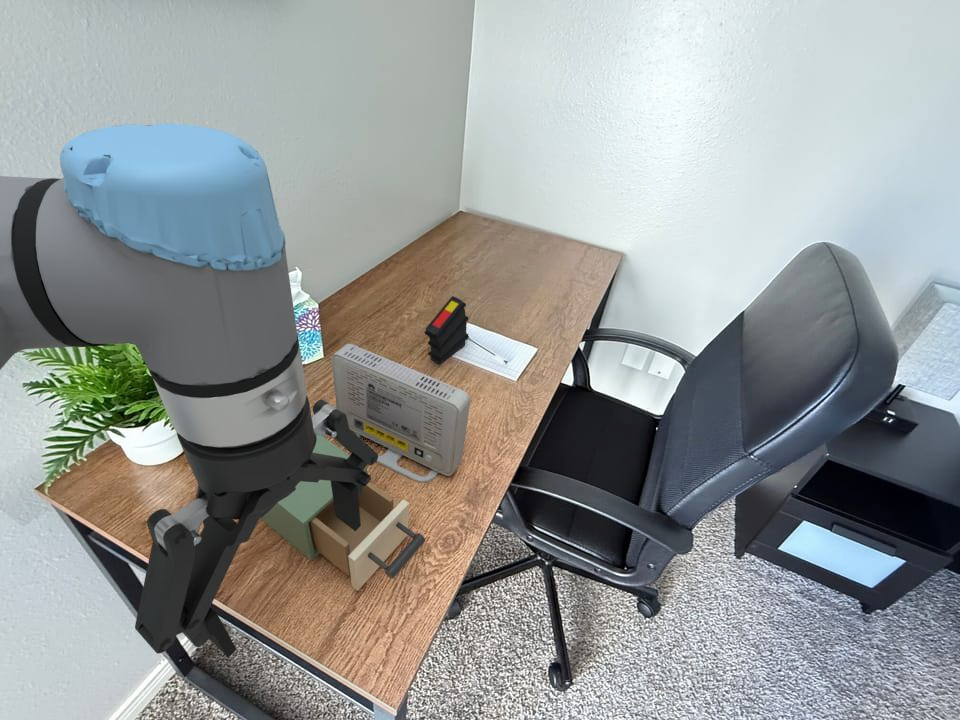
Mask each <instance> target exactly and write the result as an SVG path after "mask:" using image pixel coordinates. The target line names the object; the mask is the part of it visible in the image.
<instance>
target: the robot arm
mask: <svg viewBox="0 0 960 720" xmlns="http://www.w3.org/2000/svg"><path fill="white" fill-rule="evenodd" d="M59 165H60V169H61V173H62V176H63V177H62V178H57V177H53V178H52V177H51V178H50V177H49V178H48V177H47V178H45V177H27V176H25V177H24V176H6V175H4V176H3V175H0V371H1V370H2V369H3V368H4V367H5V365H7V364H8V362H9V361H10V360H11V358H12V357H13V356H15V354H17V353H19V352H22V351H24V350H37V349H39V350H40V349H57V348H58V349H59V348H91V347H92V348H94V347H103V346H105V345H120V344H130V345H134V346H135V347H136V349H137V350H138V352H139V354H140V356H141V358H142V359H143V361H144V363H145V365H146V367H147V369H148V372H149V375H150V376H151V379H152V380H153V382H154V385H155V387H156V390H157V393H158V394H159V397H160V401H161V402H162V405H163V407H164V410H165V412H166V414H167V417H168V420H169V422H170V424H171V426H172V427H173V429H174V431H175V432H176V436H177V439H178V442H179V444H180V447H181V448H182V451H183V453H184V455H185V458H186V460H187V462H188V465H189V467H190V469H191V471H192V474H193V476H194V478H195V480H196V482H197V490H196V493H195V499H194V500H193V501H191V502H190V503H187V504H186V505H185V506H183V507H181V508H180V509H178V510H176V511H175V512H174V513H171V512H170V511H169V510H168V509H166V508H160V509H157V510H156V511H154V512H153V513H151V514H150V516H149V517H148V518H147V520H146V525H147V528H148V531H149V534H150V538H151V541H152V544H151V548H150V553H149V558H148V563H147V568H146V570H145V571H146V572H145V577H144V581H143V586H142V587H143V588H142V591H141V596H140V601H139V604H138V605H139V606H138V610H137V614H136V620H135V624H134V629H135V631H136V632H137V633H138V634H139V636H141V637H142V639H144V641H145V642H146V643H147V644H148V645H149V647H150V648H151V649H152V650H153V651H154V652H155V653H156V654H159V655H160V654H162V653H164V652H165V651H167V650H168V649H169V648H171V647H172V646H173V644H174V643H175V641H176V638H177V636H179V635H181V634H183V635H184V636H185V637H186V638H187V639H188V641H189V642H190V643H191V644H192V646H194V647H195V648H201V647H202V646H203V645H204V644H206V642H208V641H209V640H210V641H211V642H212V643H213V645H215V646H216V647H217V648H218V649H219V651H220V652H221V653H223V655H225V657H227V658H231V656H232V655H233V654H235V652H236V651H237V650H238V649H237V647H236V646H235V644H234V642H233V640H232V638H231V636H230V635H229V632H228V631H227V629H226V627H225V626H224V624H223V621H222V620H221V618H220V616H219V614H218V613H217V612H216V611H215V610H214V609H213V608H212V607H211V606H212V604H213V602H214V600H215V598H216V596H217V594H218V591H219V589H220V587H221V586H222V583H223V581H224V579H225V577H226V575H227V573H228V571H229V569H230V566H231V564H232V562H233V560H234V558H235V556H236V554H237V551H238V549H239V548H240V545H241V544H243V543H247V542H248V541H249V540H250V538H251V537H252V534H253V532H254V531H255V528H256V526H257V524H258V522H259V520H260V518H262V517H263V516H264V515H265V514H266V513H268V512H269V511H270V510H271V509H272V508H273V507H274V506H275V505H276V504H277V503H278V502H279V501H281V500H282V499H284V498H286V497H287V496H289V495H290V494H291V493H292V492H294V491H295V490H296V486H297V484H298V483H300V481H303V482H318V481H319V480H329V481H331V487H332V494H333V501H334V508H335V515H336V517H337V518H338V519H340V520H341V521H342V522H344V523H345V524H346V525H348V526H349V527H350V528H351V529H353V530H354V531H356V530H357V529H358V528H359V527H360V526H361V522H360V511H359V499H358V498H359V497H360V496H361V495H362V487H365V486H366V485H367V484H368V483H369V482H370V483H371V479H372V476H371V475H370V474H369V473H368V472H367V473H368V474H367V473H366V472H364V471H363V470H364V469H365V467H366V466H367V467H368V466H369V467H372V466H373V465H375V464H376V463H377V462H376V461H377V459H378V456H379V454H378V453H377V452H376V451H375V450H374V449H372V448H371V447H370V446H369V445H368V444H367V443H366V442H364V440H363V439H361V437H360V438H359V437H358V436H357V435H356V434H355V432H354V431H352V430H350V429H349V425H348V421H347V417H346V414H345V413H343V412H342V411H340V410H338V409H337V407H335V406H333V405H332V404H331V403H329V402H328V401H326V400H324V399H323V398H322V399H318V400H317V401H316V402H315V403H314V404H313V406H312V410H311V405H310V400H309V397H308V389H307V384H306V377H305V372H304V365H303V360H302V353H301V345H300V340H299V335H298V329H297V321H296V315H295V314H296V313H295V308H294V300H293V294H292V288H291V280H290V273H289V267H288V259H287V250H286V236H285V232H284V230H283V229H282V227H281V225H280V221H279V217H278V212H277V208H276V204H275V199H274V195H273V191H272V186H271V182H270V177H269V172H268V168H267V165H266V163H265V160H264V159H263V157H262V155H260V153H259V151H258V150H256V149H255V148H254V147H253V146H252V145H251V144H249V143H248V142H247V141H245V140H244V139H242V138H241V137H238V136H236V135H235V134H233V133H230V132H227V131H224V130H222V129H221V130H220V129H216V128H213V127H207V126H202V125H194V124H183V123H182V124H181V123H168V122H164V123H163V122H162V123H157V124H147V125H143V124H120V125H112V126H106V127H101V128H96V129H92V130H90V131H87V132H84V133H81V134H78V135H76V136H74V137H72V138H71V139H70V140H68V141H67V142H66V143H65V144H64V146H63V148H62V149H61V151H60V154H59ZM312 413H313V415H312ZM317 435H321V436H322V437H324V438H327V437H330V438H332V439H333V440H334V441H335V442H337V443H338V444H339V445H341V446H342V447H343V448H344V449H345V450H347V451H348V452H349V453H350V454H349V455H350V456H349V457H348V458H347V459H345V458H342V457H336V456H330V455H324V454H318V453H312V452H313V450H314V447H315V445H316V441H317V438H316V436H317ZM236 520H238V521H237V522H236ZM202 524H203V527H202V530H201V532H200V529H201V525H202ZM199 533H200V534H199Z"/></svg>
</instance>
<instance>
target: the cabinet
mask: <svg viewBox="0 0 960 720" xmlns="http://www.w3.org/2000/svg"><path fill="white" fill-rule="evenodd" d="M316 438H317V441H316V445H315V447H314V450H313V452H312V453H318V454H324V455H330V456H336V457H342V458H345V459H347V458H348V457H349V456H350V455H351V454H349V453H347V452H346V451H345V450H343V449H342V448H340V447H338V445H336V444H335V443H333V442H332V441H330V440H329V439H327V438H326V437H323V436H321V435H317V436H316ZM363 471H364V472H366V473H367V474H369V473H368V465H367V466H366V467H365V469H364V470H363ZM332 501H333V494H332V487H331V481H329V480H319V481H318V482H303V481H300V483H298V484H297V486H296V490H295V491H294V492H292V493H291V494H290V495H289V496H287V497H286V498H284V499H282V500H281V501H279V502H278V503H277V504H276V505H275V506H274V507H273V508H272V509H271V510H270V511H269V512H268V513H266V514H265V515H264V516H263V517H262V518H259V520H260V521H262V522H264V523H265V525H267V526H269V527H270V528H271V529H272V530H273V531H274V532H275V533H277V534H278V535H279V536H281V537H282V538H283V539H284V540H285V541H286V542H287V543H289V544H290V545H291V546H292V547H294V548H295V549H296V550H297V551H298V552H300V553H301V554H302V555H303V556H305V557H306V559H308V560H309V561H311V562H313V561H314V560H315V559H316V558H317V557H318V556H319V555H320V554H321V553H320V552H318V551H317V550H316V549H315V548H313V543H312V538H311V533H310V529H309V524H308V522H309V521H310V520H312V519H313V518H314V517H315V516H316V515H317V514H318V513H319V512H321V511H322V510H323V509H324V508H325V507H326V506H327V505H328V504H330V503H331V502H332Z"/></svg>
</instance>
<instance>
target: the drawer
mask: <svg viewBox="0 0 960 720" xmlns="http://www.w3.org/2000/svg"><path fill="white" fill-rule="evenodd" d="M358 499H359V511H360V522H361V526H360V527H359V528H358V529H357V530H356V531H354V530H353V529H351V528H350V527H349V526H348V525H346V524H345V523H344V522H342V521H341V520H340V519H338V518H337V517H336V515H335V508H334V501H332V502H331V503H330V504H328V505H327V506H326V507H325V508H324V509H323V510H322V511H321V512H319V513H318V514H317V515H316V516H315V517H314V518H313V519H312V520H310V521H309V522H308V524H309V529H310V533H311V538H312V543H313V548H315V549H316V550H317V551H318V552H320V554H321V555H322V556H323V557H324V558H325V559H327V560H328V561H329V562H330V563H332V564H333V565H334V566H335V567H337V568H338V569H339V570H340V571H342V572H343V573H344V574H345V575H346V576H348V577H350V581H351V582H350V583H351V587H352V588H353V589H354V590H355V591H357V592H359V590H361V588H362V587H363V586H364V585H365V584H366V582H368V580H369V579H370V578H371V577H372V576H373V575H374V574H375V572H377V570H378V569H379V568H381V569H382V570H384V573H385V575H386V576H388V578H389V579H392V580H394V579H395V577H396V576H398V574H399V573H400V572H401V570H402V569H403V568H404V567H405V566H406V565H407V563H408V562H409V561H410V560H411V559H412V557H413V556H414V555H415V554H416V553H417V551H419V549H420V548H422V546H423V544H424V543H425V542H426V538H425V536H424V535H423V534H421V533H420V532H419V533H418V532H417V533H415V532H413V531H412V530H411V529H409V521H410V502H408V501H406V500H405V499H402V500H400V502H399V503H398V504H397V505H396V506H395V507H394V503H395V502H394V499H395V498H393V497H392V496H390V494H388V493H386V492H385V491H383V490H382V489H381V488H379V487H378V486H376V485H375V484H373V483H372V482H371V481H370V482H369V483H368V484H367V485H366V486H365V487H362V495H361V496H360V497H359V498H358ZM408 536H409V537H410V538H411V540H410V541H409V542H408V543H407V544H406V545H405V547H404V548H403V549H402V550H401V552H400V553H399V554H398V555H397V556H396V557H395V558H394V559H393V560H392V562H391V563H390V564H389V565H388V564H387V563H386V562H385V561H386V560H387V559H388V558H389V557H390V556H391V554H392V553H393V552H394V551H395V550H396V549H397V548H398V547H399V545H401V543H402V542H403V541H404V540H405V539H406V537H408Z"/></svg>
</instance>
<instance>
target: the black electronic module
mask: <svg viewBox="0 0 960 720" xmlns="http://www.w3.org/2000/svg"><path fill="white" fill-rule="evenodd" d="M466 306H467V304H466V302H464V301H463V300H462V299H460V298H458V297H456V296H454V295H451V297H450V298H449V299H448V300H447V302H446V303H444V305H443V306H442V308H441V309H440V310H439V312H437V314H436V315H435V316H434V318H433V319H432V320H431V321H430V322H429V324H427V326H426V327H425V331H424V335H425V336H428V338H429V340H428V342H427V345H429V346H430V350H429V351H428V353H427V354H428V356H430V360H431V361H433V362H434V363H436V364H438V365H441V364H442V363H444V362H445V361H446V360H448V359H449V358H451V357H452V356H453V355H454V354H456V353H458V351H459V350H461V349H462V348H464V347H465V346H466V342H467V340H468V338H469V333H467V322H468V321H469V316H467V315H466V314H467V313H466Z"/></svg>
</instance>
